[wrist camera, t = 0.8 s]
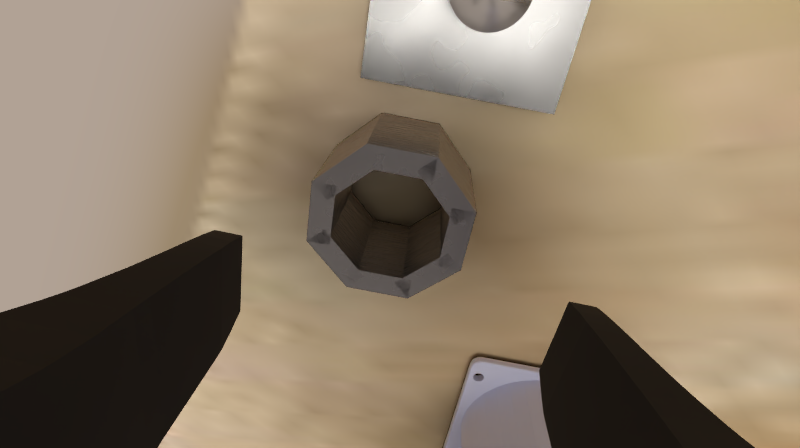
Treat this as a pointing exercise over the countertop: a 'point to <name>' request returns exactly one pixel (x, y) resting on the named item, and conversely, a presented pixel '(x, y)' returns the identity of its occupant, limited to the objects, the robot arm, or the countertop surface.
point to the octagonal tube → (386, 242)
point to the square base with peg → (476, 47)
